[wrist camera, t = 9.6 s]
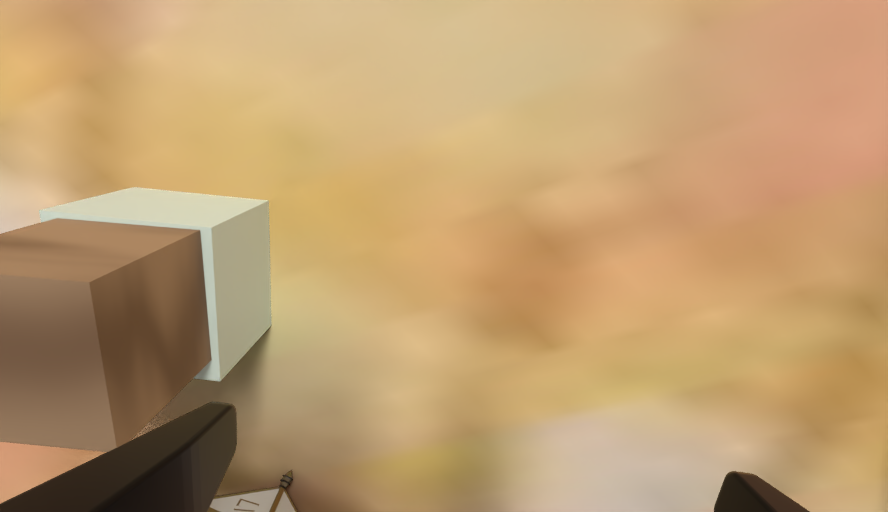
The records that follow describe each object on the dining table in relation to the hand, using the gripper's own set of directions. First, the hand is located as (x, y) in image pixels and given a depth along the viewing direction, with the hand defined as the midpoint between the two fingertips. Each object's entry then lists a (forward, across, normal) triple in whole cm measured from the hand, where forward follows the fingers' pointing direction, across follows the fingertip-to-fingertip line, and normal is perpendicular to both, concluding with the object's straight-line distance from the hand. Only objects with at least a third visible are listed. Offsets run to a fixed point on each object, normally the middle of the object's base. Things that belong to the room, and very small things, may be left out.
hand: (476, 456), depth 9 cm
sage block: (+13, +12, +2) cm, 18 cm away
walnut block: (+8, +12, +2) cm, 15 cm away
